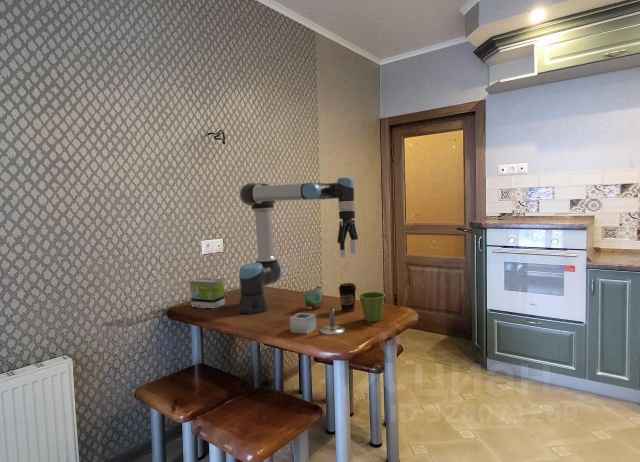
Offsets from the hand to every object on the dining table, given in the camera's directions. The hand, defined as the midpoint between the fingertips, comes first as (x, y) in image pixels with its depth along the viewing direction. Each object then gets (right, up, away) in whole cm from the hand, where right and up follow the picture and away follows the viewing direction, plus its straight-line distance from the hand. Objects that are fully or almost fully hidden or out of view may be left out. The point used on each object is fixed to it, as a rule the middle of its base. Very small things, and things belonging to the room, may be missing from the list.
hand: (348, 255), depth 185 cm
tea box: (-74, -30, +25) cm, 84 cm away
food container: (-15, -28, +10) cm, 33 cm away
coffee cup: (0, -27, +4) cm, 28 cm away
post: (-9, -30, -26) cm, 40 cm away
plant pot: (+10, -28, -13) cm, 33 cm away
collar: (-21, -30, -23) cm, 43 cm away
